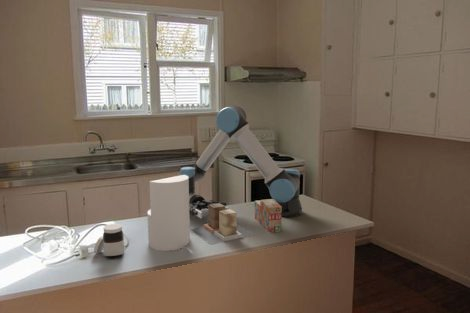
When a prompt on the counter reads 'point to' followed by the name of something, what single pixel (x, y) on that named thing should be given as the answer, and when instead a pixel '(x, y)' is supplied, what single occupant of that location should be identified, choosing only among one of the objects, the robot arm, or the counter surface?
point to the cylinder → (169, 213)
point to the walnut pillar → (215, 214)
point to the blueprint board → (215, 237)
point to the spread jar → (111, 242)
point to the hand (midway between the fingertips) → (214, 213)
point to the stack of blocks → (268, 214)
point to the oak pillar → (227, 222)
